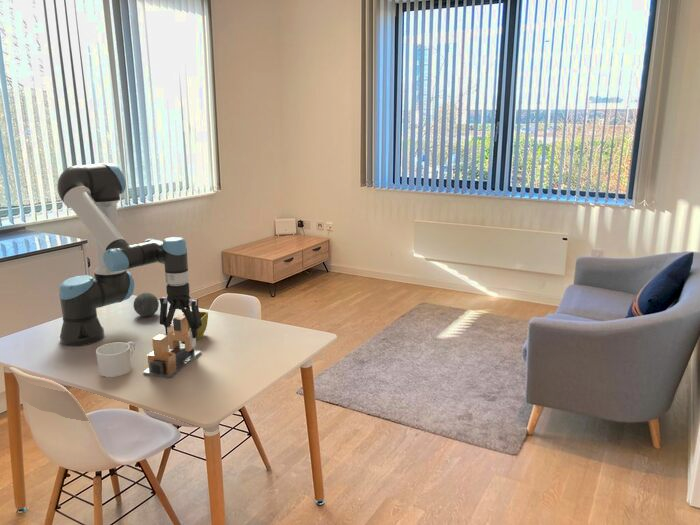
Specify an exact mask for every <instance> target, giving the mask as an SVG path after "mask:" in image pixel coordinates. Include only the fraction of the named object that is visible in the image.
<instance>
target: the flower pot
mask: <svg viewBox="0 0 700 525" xmlns="http://www.w3.org/2000/svg"><path fill="white" fill-rule="evenodd" d="M191 313H192V310H191ZM199 313H200V318H201V322H202V326H201V327H200V328H198V329H197V337H196V341H197V340H200V339H201V338H202V337H203V335H204V334H205V331H206V330H207V326H208V319H209V318H208V317H209V312H208V311H199ZM182 315H184V313H183V314H182ZM192 315H193V314H192ZM187 323H188V321H187ZM190 329H191V328H190V326H189V323H188V332H189V330H190Z"/></svg>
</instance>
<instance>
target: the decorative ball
mask: <svg viewBox="0 0 700 525" xmlns="http://www.w3.org/2000/svg"><path fill="white" fill-rule="evenodd" d="M159 304H160V301H159V299H158V298H157V296H156V295H154V294H153V293H150V292H142V293H140V294H138V295H137V296H136V297H135V299H134V301H133V309H134V311H135V313H136V314H138V315H139V316H142V317H150V316H153V315H155V313H156V312H157V311H158V309H159Z"/></svg>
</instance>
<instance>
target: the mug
mask: <svg viewBox="0 0 700 525" xmlns="http://www.w3.org/2000/svg"><path fill="white" fill-rule="evenodd" d="M135 349H136V345H135V343H134V342H133V341H128V342H121V341H119V342H118V341H115V342H109V343H105V344H102V345H100V346H98V347H97V348H96V350H95V355H96V360H97V366H98V371H99V375H100V376H102V377H104V376H105V377H104V378H117V377H121V376H124V375H127V374H128V373H129V372H130V371H131V370H132V361H131V360H132V359H131V357H132V356H133V354H134V352H135ZM116 376H117V377H116Z"/></svg>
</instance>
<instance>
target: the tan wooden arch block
mask: <svg viewBox="0 0 700 525" xmlns="http://www.w3.org/2000/svg"><path fill="white" fill-rule="evenodd" d="M172 323H173V324H172V325H173V329H174V331H173V332H171V333H170V334H168V337H169V346H168V348H169V350H173V349H175V348H176V347H177V346H179V345H180V344H181V341H184V342H185V351H191V350H192V349H193V348H194V349H195V348H196V345H195V346H194V347H192V348H190V338H189V332H188V323H187V319H186V317H185V315H183V314H179V315H177V316H176V317H175V316H174V317H173V319H172Z"/></svg>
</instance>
